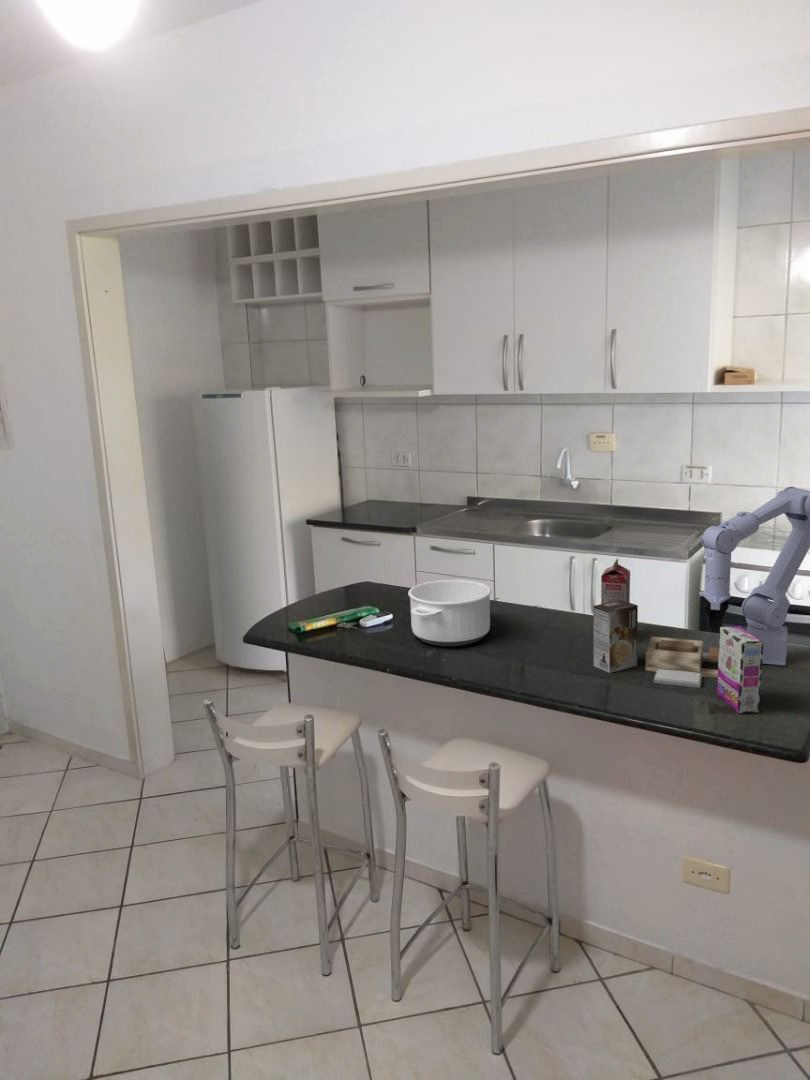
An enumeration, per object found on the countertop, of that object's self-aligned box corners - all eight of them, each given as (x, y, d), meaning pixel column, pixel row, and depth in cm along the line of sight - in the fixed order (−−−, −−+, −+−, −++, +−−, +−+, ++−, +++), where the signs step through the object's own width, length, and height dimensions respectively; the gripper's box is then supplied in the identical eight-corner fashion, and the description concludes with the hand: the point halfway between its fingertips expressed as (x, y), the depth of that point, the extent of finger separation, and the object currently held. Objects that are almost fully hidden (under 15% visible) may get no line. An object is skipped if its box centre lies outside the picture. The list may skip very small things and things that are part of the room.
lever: (719, 653, 210) (720, 647, 210) (718, 662, 205) (719, 656, 205) (658, 648, 216) (659, 642, 216) (656, 656, 211) (656, 650, 210)
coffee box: (620, 658, 217) (621, 598, 214) (637, 666, 212) (639, 605, 208) (592, 666, 213) (592, 605, 210) (609, 674, 208) (610, 611, 204)
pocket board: (720, 659, 214) (721, 642, 213) (718, 677, 202) (719, 660, 201) (651, 652, 220) (651, 636, 219) (645, 670, 209) (645, 653, 208)
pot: (456, 662, 219) (455, 612, 216) (383, 648, 232) (381, 600, 229) (514, 626, 246) (514, 580, 243) (446, 614, 259) (445, 571, 256)
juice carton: (600, 641, 230) (601, 563, 225) (604, 634, 236) (605, 557, 231) (625, 644, 227) (626, 565, 222) (628, 636, 233) (630, 558, 228)
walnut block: (694, 650, 212) (694, 642, 211) (692, 656, 208) (693, 648, 208) (660, 647, 215) (661, 639, 214) (659, 652, 211) (659, 645, 211)
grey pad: (701, 677, 203) (702, 672, 203) (700, 687, 197) (700, 682, 197) (656, 672, 207) (656, 668, 207) (653, 682, 201) (653, 678, 201)
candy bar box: (760, 713, 183) (764, 641, 179) (738, 714, 183) (742, 643, 179) (736, 692, 194) (740, 624, 190) (715, 694, 193) (718, 626, 190)
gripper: (701, 567, 212) (699, 619, 215) (698, 582, 199) (696, 637, 202) (731, 569, 209) (729, 621, 212) (730, 584, 196) (727, 640, 199)
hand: (715, 629), depth 207 cm, fingers closed
